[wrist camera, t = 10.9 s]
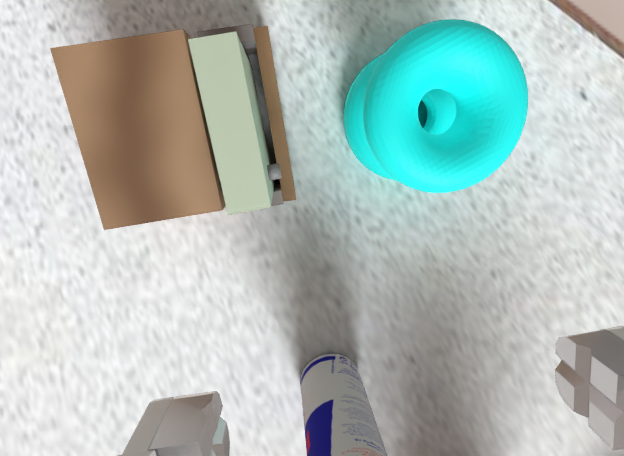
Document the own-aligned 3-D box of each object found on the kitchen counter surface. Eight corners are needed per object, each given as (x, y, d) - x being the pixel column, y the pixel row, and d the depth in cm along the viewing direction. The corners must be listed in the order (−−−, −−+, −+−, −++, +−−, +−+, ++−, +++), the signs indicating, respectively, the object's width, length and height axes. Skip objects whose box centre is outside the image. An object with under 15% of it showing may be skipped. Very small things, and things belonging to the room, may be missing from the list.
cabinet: (268, 36, 29) (264, -6, 20) (294, 193, 32) (300, 215, 23) (114, 59, 29) (43, 25, 20) (155, 216, 32) (109, 247, 23)
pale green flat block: (262, 67, 30) (251, 28, 19) (283, 181, 32) (285, 204, 21) (221, 74, 30) (188, 39, 19) (245, 188, 32) (227, 215, 21)
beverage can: (303, 348, 36) (321, 495, 21) (362, 352, 36) (418, 496, 22) (296, 400, 37) (309, 573, 22) (353, 403, 37) (401, 572, 23)
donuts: (413, 225, 23) (338, 69, 21) (373, 199, 33) (319, 90, 30) (561, 145, 23) (503, -24, 20) (477, 142, 33) (430, 28, 30)
